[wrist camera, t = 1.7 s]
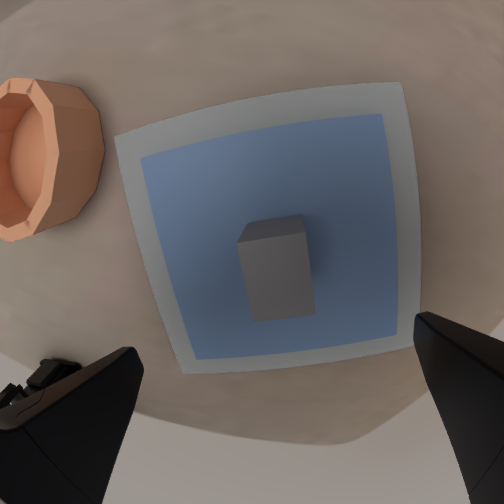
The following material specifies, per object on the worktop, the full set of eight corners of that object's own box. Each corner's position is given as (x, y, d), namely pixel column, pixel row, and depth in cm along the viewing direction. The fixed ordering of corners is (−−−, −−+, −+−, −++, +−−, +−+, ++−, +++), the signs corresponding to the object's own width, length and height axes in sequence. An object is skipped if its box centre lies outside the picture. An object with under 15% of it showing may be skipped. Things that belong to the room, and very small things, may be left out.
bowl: (117, 205, 19) (74, 222, 15) (24, 234, 21) (-15, 251, 16) (93, 63, 16) (50, 48, 12) (4, 118, 18) (-36, 120, 13)
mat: (412, 338, 20) (416, 345, 19) (186, 366, 23) (182, 374, 22) (395, 85, 15) (400, 82, 14) (121, 137, 18) (113, 136, 17)
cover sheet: (393, 328, 19) (415, 371, 15) (199, 353, 21) (180, 397, 17) (377, 115, 15) (408, 103, 11) (146, 157, 17) (104, 161, 13)
